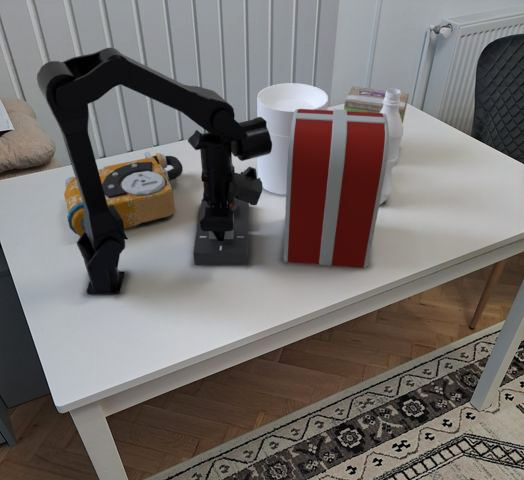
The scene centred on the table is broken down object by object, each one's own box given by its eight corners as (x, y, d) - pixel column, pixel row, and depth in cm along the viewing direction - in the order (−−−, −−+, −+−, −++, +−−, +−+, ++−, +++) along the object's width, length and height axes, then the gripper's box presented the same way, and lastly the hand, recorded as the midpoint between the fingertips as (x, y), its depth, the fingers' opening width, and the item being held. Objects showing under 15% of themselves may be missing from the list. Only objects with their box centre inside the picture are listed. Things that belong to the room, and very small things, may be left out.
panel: (247, 265, 108) (247, 252, 106) (194, 265, 108) (193, 252, 106) (248, 234, 116) (248, 221, 113) (198, 234, 116) (197, 221, 113)
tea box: (337, 156, 140) (343, 100, 129) (344, 140, 146) (351, 84, 136) (393, 165, 137) (405, 107, 126) (398, 147, 144) (409, 91, 133)
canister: (331, 188, 129) (341, 105, 114) (271, 200, 125) (273, 116, 110) (304, 158, 139) (309, 79, 124) (248, 169, 135) (246, 88, 120)
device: (47, 163, 120) (172, 138, 129) (58, 195, 126) (176, 170, 135) (65, 212, 106) (203, 181, 115) (75, 246, 112) (206, 214, 121)
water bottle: (354, 203, 124) (370, 94, 106) (365, 189, 129) (382, 82, 110) (383, 211, 122) (405, 100, 104) (393, 196, 126) (415, 88, 108)
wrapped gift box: (288, 218, 120) (294, 96, 100) (366, 223, 119) (387, 100, 99) (282, 262, 109) (287, 135, 89) (368, 268, 107) (392, 140, 88)
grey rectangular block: (233, 234, 110) (232, 217, 107) (233, 239, 109) (232, 221, 106) (210, 234, 110) (208, 217, 107) (209, 239, 109) (208, 221, 106)
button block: (248, 231, 116) (248, 215, 113) (199, 231, 116) (197, 216, 113) (249, 206, 123) (248, 191, 120) (202, 207, 123) (200, 191, 120)
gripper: (260, 191, 92) (260, 262, 103) (259, 142, 104) (259, 210, 116) (196, 191, 92) (203, 262, 103) (203, 142, 104) (209, 210, 116)
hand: (221, 235), depth 109 cm, fingers open, 4 cm apart
